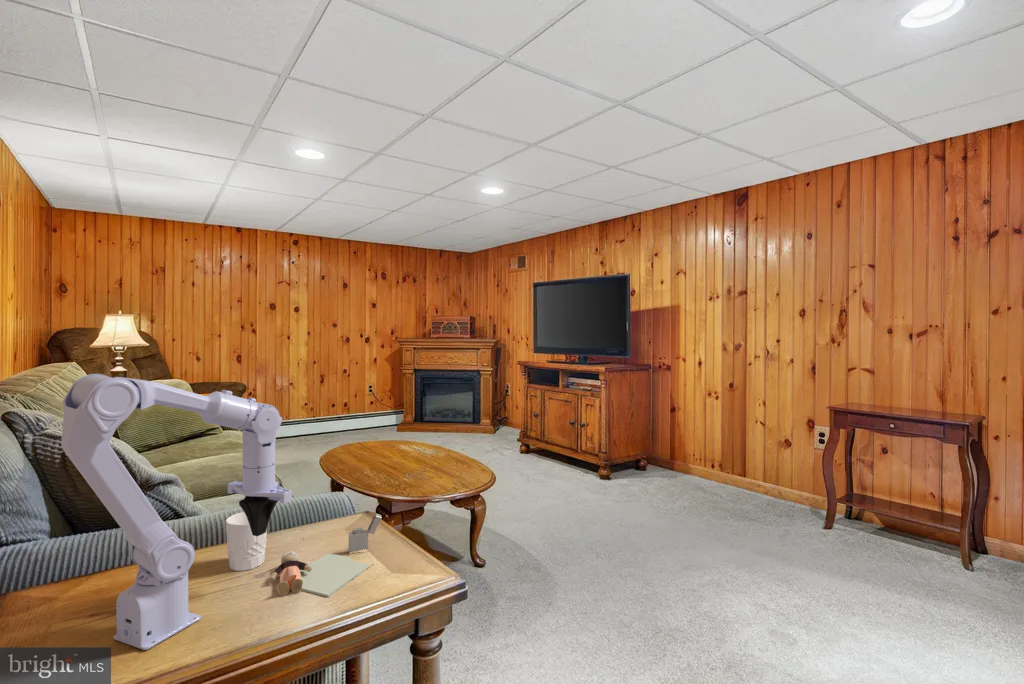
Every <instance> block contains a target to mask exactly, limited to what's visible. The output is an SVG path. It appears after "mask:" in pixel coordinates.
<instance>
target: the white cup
mask: <svg viewBox="0 0 1024 684" xmlns="http://www.w3.org/2000/svg"><path fill="white" fill-rule="evenodd" d="M225 529H226V532H225V533H226V545H227V546H226V547H227V554H228V555H227V556H228V567H229V569H230V570H232V571H237V572H238V571H239V572H243V571H248V570H253V569H256V568H258V567H260V566H262V565H263V564H264V563H265V561H264V560H266V547H267V537H268V529H267V530H266V533H264V534H262V535H260V536H254V535H252V531H251V528H250V525H249V522H248V519H247V516H246V514H245V512H244V511H243V512H238V513H234V514H233V515H231V516H229V517H227V518H226V520H225ZM263 562H264V563H263ZM262 563H263V564H262ZM259 565H260V566H259ZM257 566H258V567H257ZM255 567H256V568H255Z"/></svg>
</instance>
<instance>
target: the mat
mask: <svg viewBox="0 0 1024 684" xmlns="http://www.w3.org/2000/svg"><path fill="white" fill-rule="evenodd" d="M350 558H351V557H350V556H349V557H348V556H346V555H345V556H344V555H340V554H335V553H331V552H327V553H326V554H325V555H323V556H321V557H320V558H318V559H317V560H314V561H313V562H311V563H309V564H308V565H309V566H311V567H312V570H311V571H310V572H307V571H306V570H300V574H301V580H302V581H303V584H302V589H301V591H303V592H307V593H311V594H314V595H318V596H322V597H326V598H329V597H330V596H332V595H333V594H335V593H336V592H337V591H339V590H340V589H342V588H343V587H344V586H346V585H347V584H348V582H349V583H350V582H351V581H353V580H354V579H356V578H357V577H358V576H360V575H361V574H362V573H361V572H363V571H364V570H365V569H366V568H367V567H369V565H368V566H367V564H368V563H360V562H359V563H358V562H356V561H357V560H356V561H355V560H354V561H355V562H354V561H353V560H352V559H350ZM365 565H366V566H365ZM365 571H366V570H365ZM365 571H364V572H365ZM364 572H363V573H364ZM360 573H361V574H360ZM359 574H360V575H359ZM356 576H357V577H356ZM355 577H356V578H355ZM353 578H354V579H353ZM352 579H353V580H352ZM279 583H280V581H279V582H278V584H279ZM346 583H347V584H346ZM345 584H346V585H345ZM341 587H342V588H341Z"/></svg>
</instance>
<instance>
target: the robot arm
mask: <svg viewBox="0 0 1024 684" xmlns="http://www.w3.org/2000/svg"><path fill="white" fill-rule="evenodd" d="M233 393H234V392H232V391H231V390H227V389H222V390H221V391H217V390H216V391H212V392H211V393H209V394H207V395H203V394H198V393H197V392H192V391H188V390H185V389H181V388H178V387H175V386H170V385H167V384H163V383H160V382H155V381H152V380H151V381H150V380H146V379H137V378H131V377H130V378H129V377H122V376H121V377H120V376H114V377H111V376H109V375H105V374H103V373H102V374H101V373H90V374H86V375H83V376H81V377H80V378H78V379H77V380H75V382H74V383H72V385H71V386H70V388H69V390H68V392H67V393H66V395H65V396H64V398H63V400H62V407H63V408H62V409H63V419H62V428H61V429H62V430H61V432H62V433H61V441H60V444H61V448H62V450H63V452H64V453H65V455H66V456H67V457H68V459H69V460H70V461H71V463H72V464H73V465H74V467H75V468H76V470H77V471H78V472H79V473H80V474H81V476H82V477H83V479H84V480H85V482H86V483H87V484H88V485H89V487H90V488H91V490H92V491H93V493H95V495H96V496H97V498H98V499H99V500H100V502H101V503H102V504H103V506H104V507H105V508H106V510H107V511H108V512H109V514H110V515H111V516H112V518H113V519H114V521H115V522H116V523H117V525H118V526H119V527H120V528H121V530H122V531H123V533H124V535H125V540H126V541H127V543H128V544H129V546H130V558H131V561H132V562H133V563H134V564H135V565H138V570H137V573H136V577H135V578H136V579H135V581H134V583H133V584H132V585H131V586H129V587H128V588H127V589H124V591H122V592H120V593H119V595H118V596H117V598H116V602H115V603H116V604H115V605H116V606H115V609H116V610H115V611H116V634H114V635H113V639H114V640H116V641H118V642H121V643H124V644H126V645H129V646H132V647H135V648H138V649H141V650H143V651H147V650H149V649H151V648H153V647H155V646H156V645H158V644H160V643H161V642H163V641H165V640H166V639H168V638H170V637H173V635H176V634H177V633H179V632H180V631H182V630H184V629H186V628H188V627H190V626H191V625H192V624H195V623H196V622H198V621H200V620H201V619H202V615H200V614H197V613H193V612H190V610H189V570H190V568H191V567H192V565H193V563H194V561H195V557H196V554H195V548H194V547H193V545H192V544H191V543H190V542H187V541H185V540H182V539H181V538H179V536H177V534H176V533H175V532H174V531H173V530H172V529H171V527H170V526H168V524H166V523H165V521H163V519H162V518H161V517H160V516H159V515H160V514H159V513H158V512H157V511H156V510H155V508H154V506H153V505H152V504H151V502H150V501H149V499H148V498H147V496H146V495H145V494H144V492H143V491H142V489H141V488H140V487H139V485H138V484H137V482H136V481H135V479H134V478H133V477H132V475H131V474H130V472H129V471H128V468H126V467H125V465H124V464H123V462H122V461H121V459H120V458H119V456H118V455H117V453H116V452H115V451H114V449H113V448H112V446H111V444H110V442H111V441H112V438H113V435H114V434H115V432H116V430H117V428H118V427H119V426H120V425H121V424H123V422H124V421H126V420H127V418H128V417H129V416H130V415H131V414H132V413H133V412H134V410H135V409H137V410H140V411H142V410H145V409H147V408H150V407H152V406H153V405H158V406H163V407H167V408H172V409H177V410H183V411H188V412H193V413H197V414H199V416H200V418H201V420H202V421H203V422H204V423H206V424H212V425H216V426H221V427H225V428H231V429H235V430H241V431H242V481H238V480H235V481H232V482H230V483H227V494H231V495H233V494H238V495H243V496H245V497H244V499H240V500H239V501H238V502H239V503H238V505H239V507H240V508H241V510H242V511H243V512H245V514H246V516H247V519H248V522H249V525H250V528H251V531H252V535H254V536H260V535H262V534H264V533H266V530H267V531H268V524H269V522H270V519H271V515H272V513H273V512H274V509H275V507H276V505H277V503H278V502H279V503H280V504H282V505H283V504H286V503H289V502H292V500H293V490H291V489H287V488H285V487H282V486H280V485H279V481H276V439H277V432H278V430H279V428H280V427H281V425H282V423H283V417H282V416H280V415H281V414H280V412H279V410H278V409H277V408H276V406H274V405H272V404H268V403H262V402H258V401H257V399H256V398H254V397H248V398H245V397H239V396H236V395H233Z"/></svg>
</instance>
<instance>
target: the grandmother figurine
mask: <svg viewBox="0 0 1024 684" xmlns="http://www.w3.org/2000/svg"><path fill="white" fill-rule="evenodd" d="M300 570H306V571H307V572H310V571H311V570H312V567H311V566H309V564H308V563H306V562H303V561H299V556H298V554H297V553H296V552H294V551H293V550H290V551H288V552H285V553H284V554H282V556H281V558H280V565H278V566H277V568H276V569H274V570H273V572H272V573H271V575H270V576H269V578H268V579H269V581H270V582H274V581H275V579H276V578H277V577H278V576H279V582H280V583H279V582H278V584H277V586H276V589H277V592H278V593H279V595H280V596H281V597H285V596H287V595H288V594H289V592H290V590H291V591H292V593H293V594H298V593H300V592H301V591H302V590H301V589H302V584H303V581H302V580H301V574H300Z"/></svg>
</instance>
